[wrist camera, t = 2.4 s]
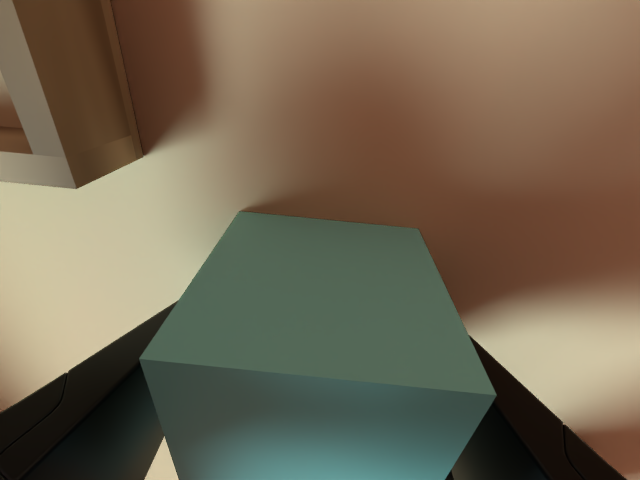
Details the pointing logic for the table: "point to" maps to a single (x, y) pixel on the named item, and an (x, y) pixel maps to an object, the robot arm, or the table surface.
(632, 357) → the table surface
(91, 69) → the tray
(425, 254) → the cube
